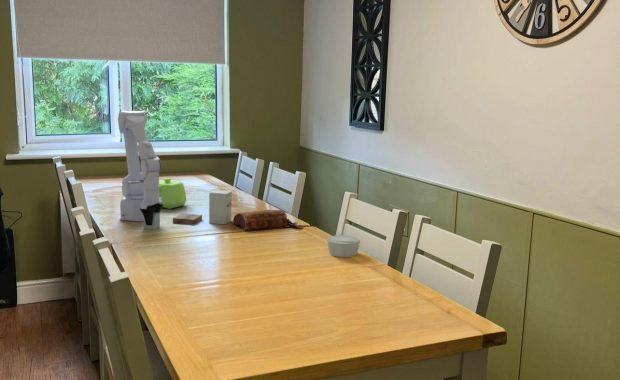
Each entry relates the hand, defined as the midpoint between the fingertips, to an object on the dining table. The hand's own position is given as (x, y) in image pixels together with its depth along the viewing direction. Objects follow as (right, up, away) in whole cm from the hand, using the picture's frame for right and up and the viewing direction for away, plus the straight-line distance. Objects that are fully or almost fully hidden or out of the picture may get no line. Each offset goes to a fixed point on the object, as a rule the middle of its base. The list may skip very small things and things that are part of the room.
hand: (151, 223), depth 231 cm
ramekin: (+73, -9, -29) cm, 79 cm away
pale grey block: (0, -1, 0) cm, 1 cm away
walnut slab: (+11, 0, +12) cm, 17 cm away
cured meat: (+45, -2, +8) cm, 46 cm away
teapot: (-5, +5, +41) cm, 42 cm away
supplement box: (+25, 0, +13) cm, 28 cm away
